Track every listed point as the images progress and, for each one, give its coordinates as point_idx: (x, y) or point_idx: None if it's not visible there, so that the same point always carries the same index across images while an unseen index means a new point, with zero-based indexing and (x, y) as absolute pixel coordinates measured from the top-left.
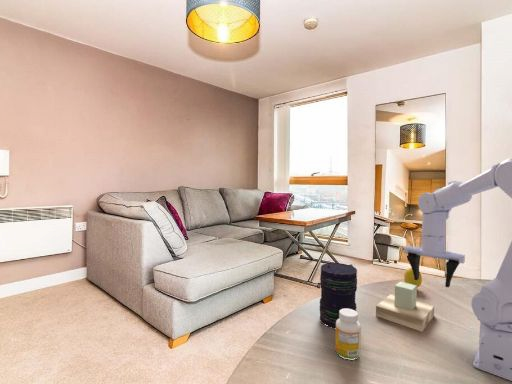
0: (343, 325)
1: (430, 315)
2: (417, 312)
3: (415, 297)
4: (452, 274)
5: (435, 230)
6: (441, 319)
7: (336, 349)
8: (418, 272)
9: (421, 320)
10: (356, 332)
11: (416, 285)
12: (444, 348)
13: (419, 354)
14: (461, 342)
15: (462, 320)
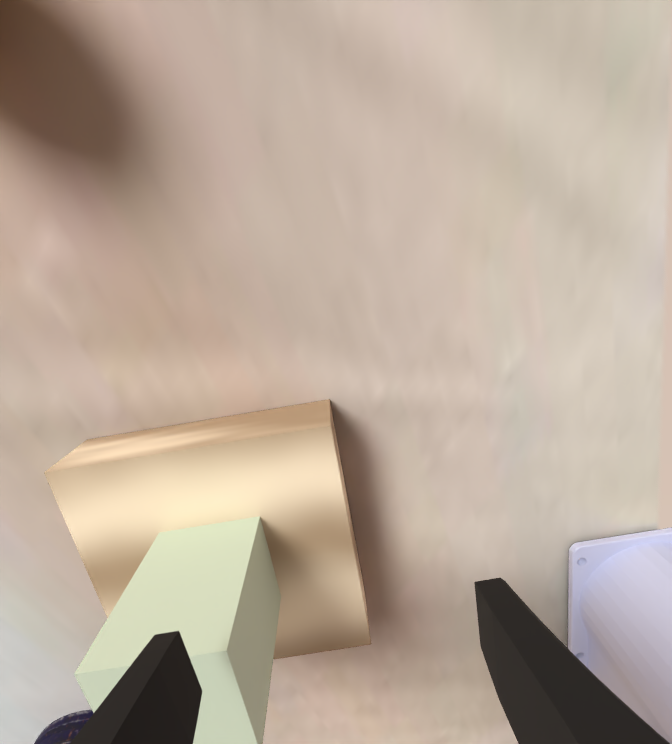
0: None
1: (344, 489)
2: (311, 587)
3: (254, 586)
4: (629, 734)
5: None
6: (373, 404)
7: None
8: (143, 736)
9: (365, 644)
10: None
11: (223, 651)
12: (469, 633)
13: (422, 719)
14: (505, 547)
15: (456, 316)
